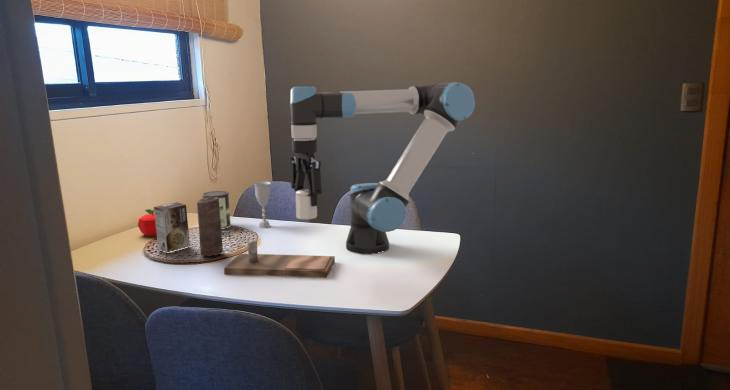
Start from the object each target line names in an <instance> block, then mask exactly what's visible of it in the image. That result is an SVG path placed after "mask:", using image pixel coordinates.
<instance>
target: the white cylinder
mask: <svg viewBox="0 0 730 390" xmlns="http://www.w3.org/2000/svg"><path fill="white" fill-rule="evenodd" d="M308 194H309V190H308V188H307V189H306V188H304V189H301V190H298V191H296V192H295V217H296V218H297V219H298V220H299V219H300V220H312V219H316V218H317V217H318V215H317V216H313V217H308V196H307V195H308Z"/></svg>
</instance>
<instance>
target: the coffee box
mask: <svg viewBox="0 0 730 390" xmlns="http://www.w3.org/2000/svg"><path fill="white" fill-rule="evenodd" d="M153 210H154V213H155V222H156V232H157V236H156V238H157V240H156V241H157V249H159V250H162V251H165V252H170V251H174V250H178V249H181V248H185V247H188V246H190V247H191V243H190V241H191V240H190V232H189V220H188V211H187V204H184V203H182V202H178V201H177V202H175V201H174V202H171V203H167V204H162V205H161V204H160V205H158V206H157V205H156V206H154V207H153Z"/></svg>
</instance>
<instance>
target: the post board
mask: <svg viewBox="0 0 730 390" xmlns="http://www.w3.org/2000/svg"><path fill="white" fill-rule="evenodd" d="M247 251H248V253H238V254H237V256H235V257H234V258H233V259H232V260H231V261H230V262H229V263H228V264H226V266H225V267H223V273H224V275H234V276H235V275H237V276H238V275H239V276H241V275H242V276H262V277H263V276H264V277H266V276H267V277H270V276H271V277H292V278H293V277H294V278H295V277H297V278H298V277H299V278H301V277H302V278H322V277H323V278H327V277H328V276H329V274H330V272H331V271H332V269H333V266H334V264H335V262H336V261H335V260H336V259H335V258H336V257H335V256H334V255H332V256H331V255H308V254H307V255H306V254H305V255H303V254H302V255H301V254H270V253H269V254H267V253H264V254H263V253H258V242H257V240H248V241H247Z"/></svg>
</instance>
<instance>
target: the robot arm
mask: <svg viewBox="0 0 730 390" xmlns="http://www.w3.org/2000/svg"><path fill="white" fill-rule="evenodd" d="M289 104H290V117H291V118H290V121H291V122H290V123H291V124H290V127H291V130H290V131H291V138H292V140H291V151H292V152H293V153H295V156H291V157H290V169H291V170H290V171H291V172H290V175H291V176H290V180H291V182H290V185H291V186H290V187H291V189H292V190H293V189H294V192H295V193H296V191H298V190H301V189H305V188H304V185H305V179H306V185H307V189H308V190H309V194H308V195H307V196H308V217H313V216H317V217H318V195H320V194H321V195H322V191H323V190H322V177H321V164H322V162H321V161H320V160H318V161H317V160H316V158H315V153H317V152H318V140H317V139H316V138H317V137H318V135H317V134H318V133H317V131H318V130H317V129H318V128H317V124H318V123H317V121H318V120H317V119H345V118H353V116H355V115H362V114H363V115H365V114H366V115H368V114H388V113H389V114H390V113H391V114H392V113H409V114H411V115H423V116H424V119H423V121H422V122H421V124H420V126H419V127H418V129H417V130H416V132H415V133H414V135H413V136H412V138H411V140H410V141H409V143H408V144H407V146H406V147H405V148H404V151H403V153H402V154H401V155H400V157H399V159H398V160H397V162H396V164H395V165H394V167H393V168H392V169H391V172H390V173H389V175H388V177H387V178H386V179H385V180H382V181H379V182H368V183H367V182H365V183H357V184H353V185H351V186H350V189H349V190H350V191H349V192H350V193H349V199H350V200H349V203H350V204H349V205H350V210H349V211H350V228H349V231H348V235H347V238H346V241H345V248H346V250H347V251H349V252H351V253H355V254H360V255H371V254H372V253H375V254H379V253H378V252H381V253H383V252H382V251H384V252H386V251H387V249H388V250H389V249H390V241H389V238H388V235H387V233H388V232H389V233H390V232H393V231H396V230H398V228H400V227H401V226H402V225H403V224H404V222H405V219H406V216H407V212H406V211H407V210H406V208H407V206H408V205H409V202H410V200H411V199H410V196H409V194H410V192H411V191H412V189H413V187H414V185H416V183H417V182H418V180H419V178H420V176H421V174H423V171H424V170H425V168H426V167H427V165H428V163H429V162H430V161H431V159H432V157H433V156H434V154H435V153H436V151H437V149H439V146H440V145H441V142H442V141H443V140H444V138H445V137H446V134H447V133H448V132H453V131H455V129H456V128H457V127H458V125H459V123H460V122H461V121H464V120H466V119H468V118H469V117H470V116H471V115H472V114H473V112H474V110H475V106H476V101H475V95H474V92H473V90H472V89H471V88H470V87H469V86H468V85H467V84H465V83H461V82H458V81H451V82H434V83H428V84H422V85H413V86H410V87H409V88H406V89H405V88H404V89H379V90H378V89H377V90H350V91H349V90H347V91H345V90H344V91H319V92H317V89H316V87H315V86H293V87H292V88H291V89H290V100H289ZM385 250H386V251H385ZM372 255H373V254H372Z"/></svg>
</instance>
